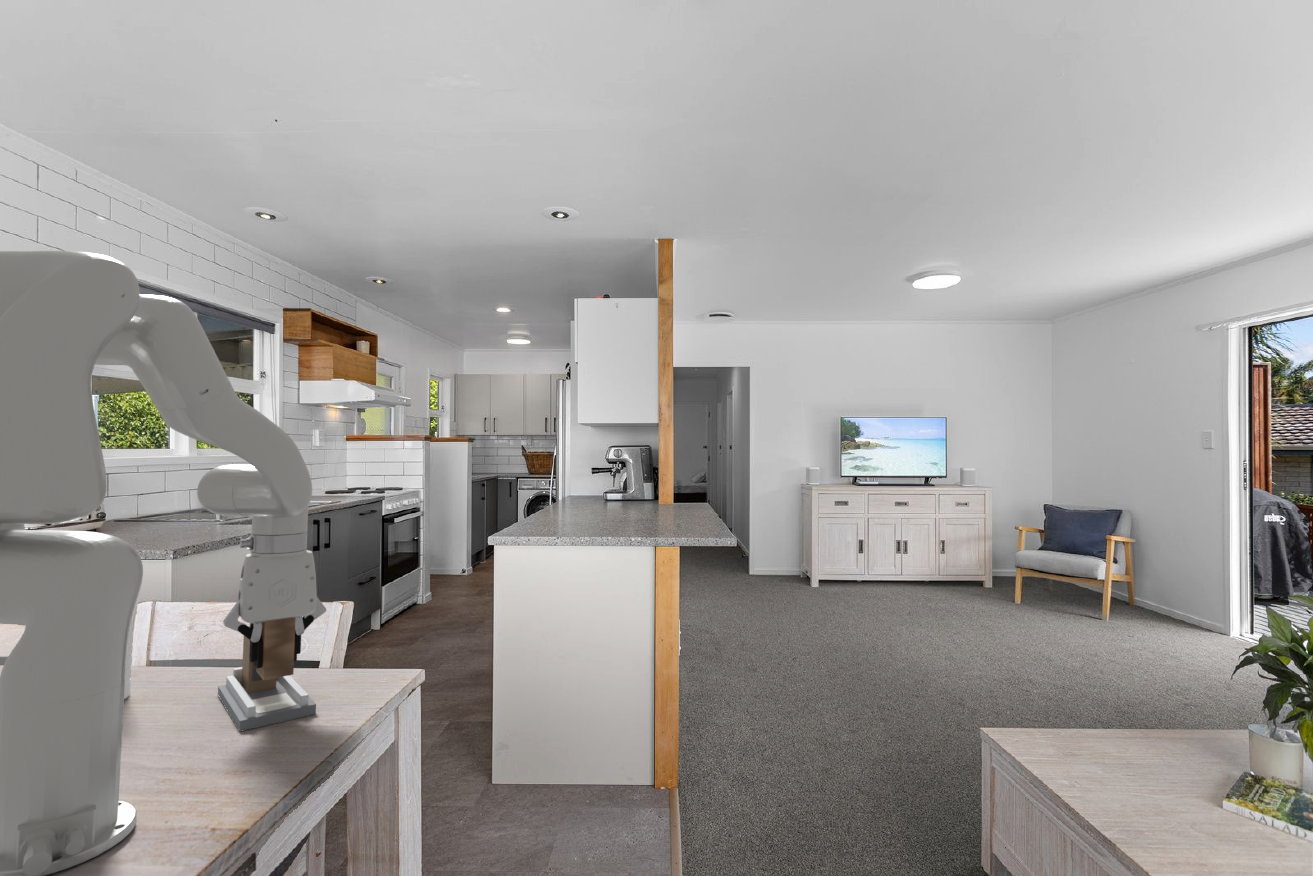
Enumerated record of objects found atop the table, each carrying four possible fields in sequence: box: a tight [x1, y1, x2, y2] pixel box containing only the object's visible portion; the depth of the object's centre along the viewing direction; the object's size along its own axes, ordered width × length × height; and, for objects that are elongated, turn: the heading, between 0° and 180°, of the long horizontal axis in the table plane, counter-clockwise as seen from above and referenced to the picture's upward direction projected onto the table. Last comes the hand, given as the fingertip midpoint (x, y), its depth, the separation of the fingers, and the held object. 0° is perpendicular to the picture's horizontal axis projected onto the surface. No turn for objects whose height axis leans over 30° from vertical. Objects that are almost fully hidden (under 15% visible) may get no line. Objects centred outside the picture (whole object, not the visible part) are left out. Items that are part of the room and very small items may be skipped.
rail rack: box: [217, 635, 317, 732], centre depth 101 cm, size 18×10×10 cm, turn 43°
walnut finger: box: [256, 617, 295, 680], centre depth 99 cm, size 4×6×9 cm
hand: (275, 661), depth 99 cm, fingers closed on walnut finger, 4 cm apart
